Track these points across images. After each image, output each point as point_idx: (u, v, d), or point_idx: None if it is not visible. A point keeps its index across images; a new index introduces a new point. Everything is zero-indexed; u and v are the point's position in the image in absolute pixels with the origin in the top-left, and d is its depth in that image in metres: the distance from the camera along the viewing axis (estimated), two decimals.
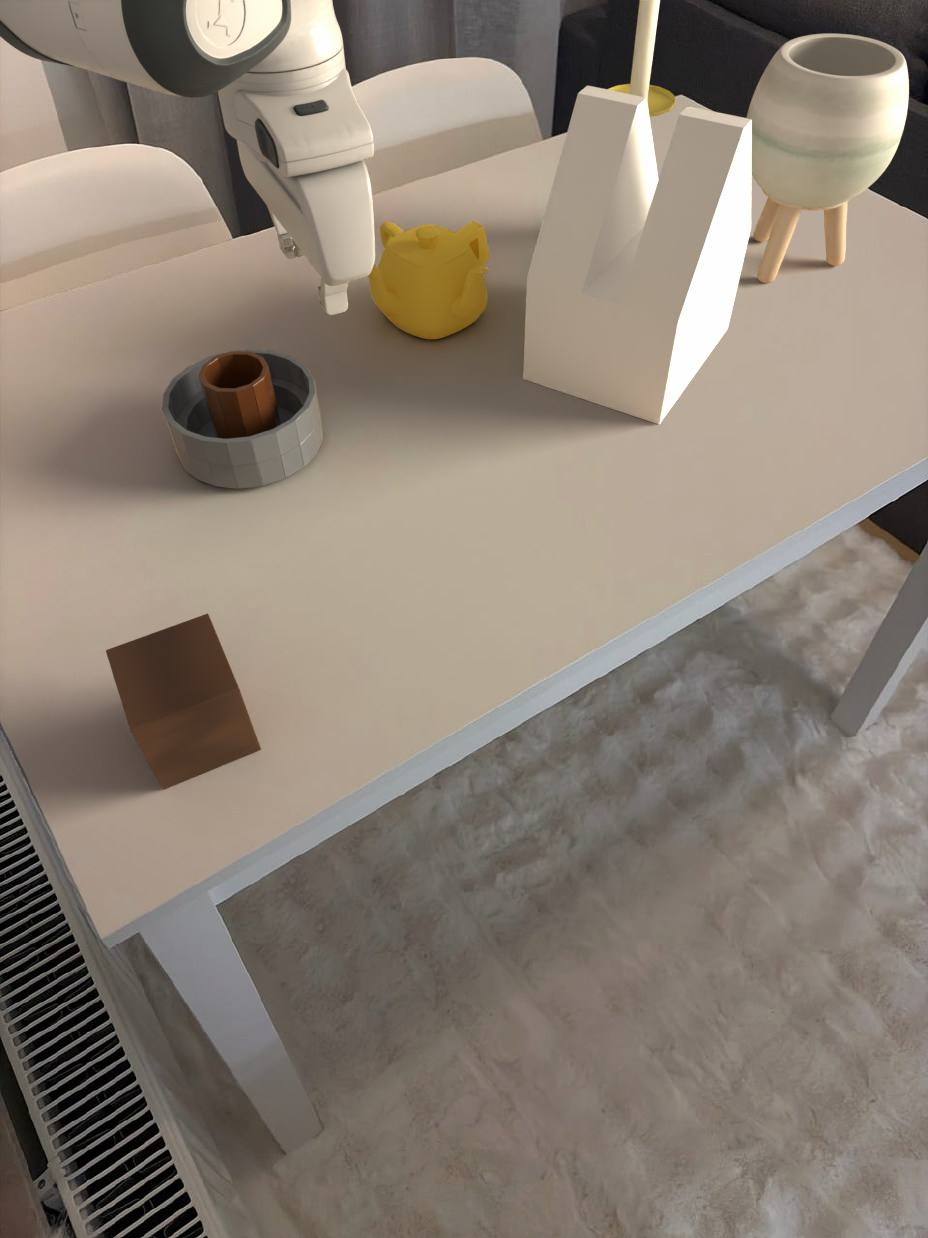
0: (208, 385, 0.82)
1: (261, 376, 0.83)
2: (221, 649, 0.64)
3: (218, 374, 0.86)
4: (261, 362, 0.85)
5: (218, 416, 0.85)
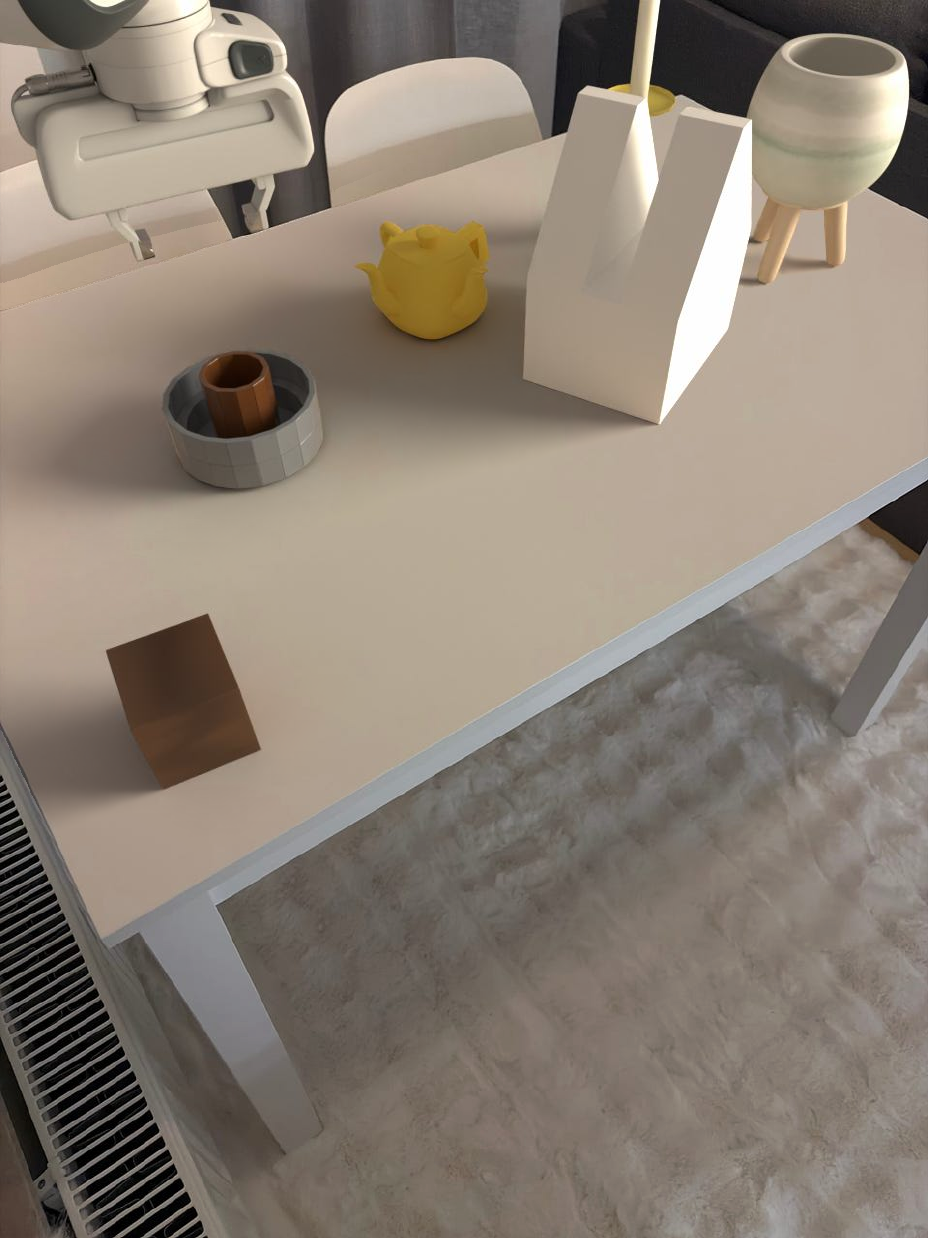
0: (208, 385, 0.82)
1: (261, 376, 0.83)
2: (221, 649, 0.64)
3: (218, 374, 0.86)
4: (261, 362, 0.85)
5: (218, 416, 0.85)
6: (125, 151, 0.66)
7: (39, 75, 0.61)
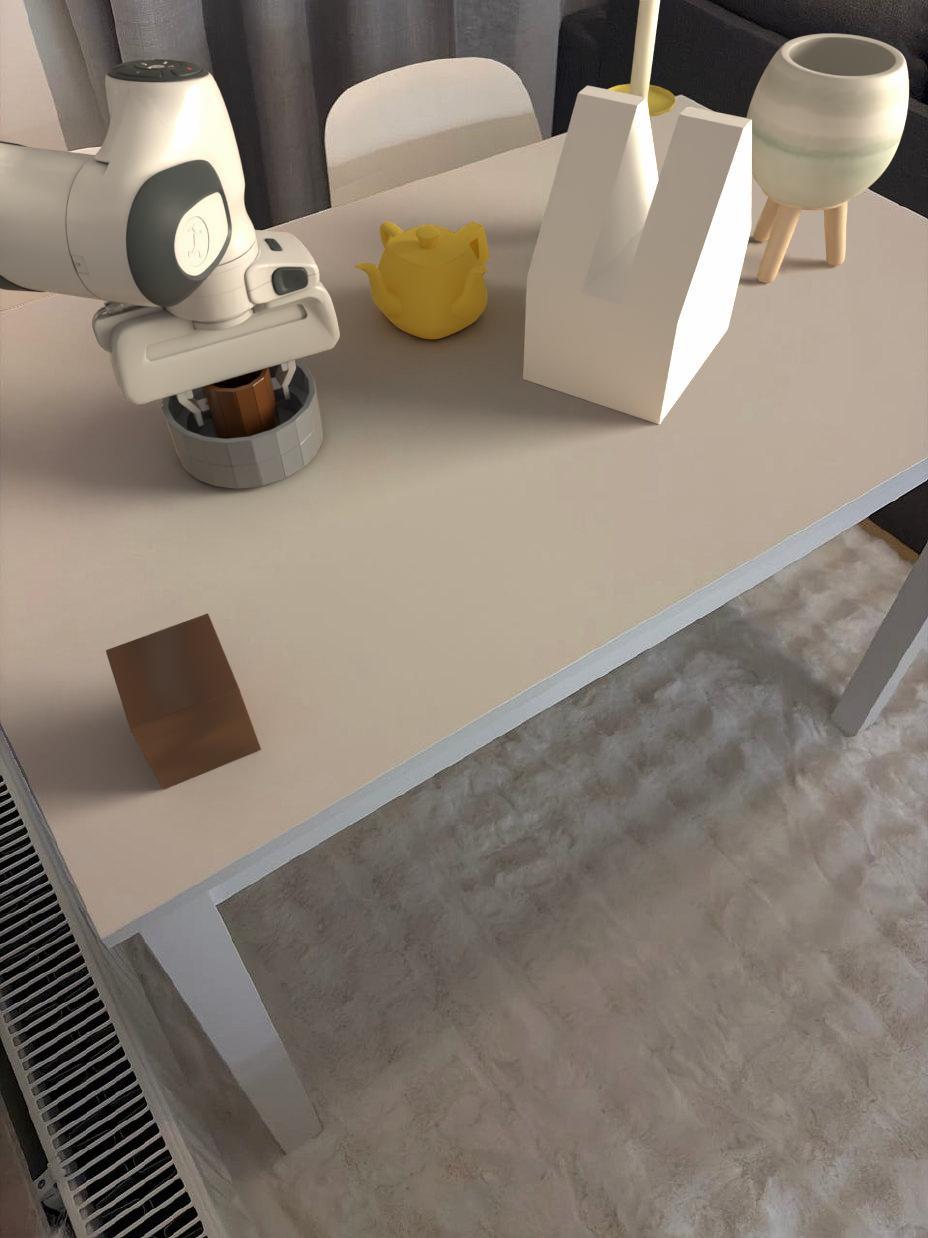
0: (208, 385, 0.82)
1: (261, 376, 0.83)
2: (221, 649, 0.64)
3: None
4: None
5: (218, 416, 0.85)
6: (183, 351, 0.78)
7: None
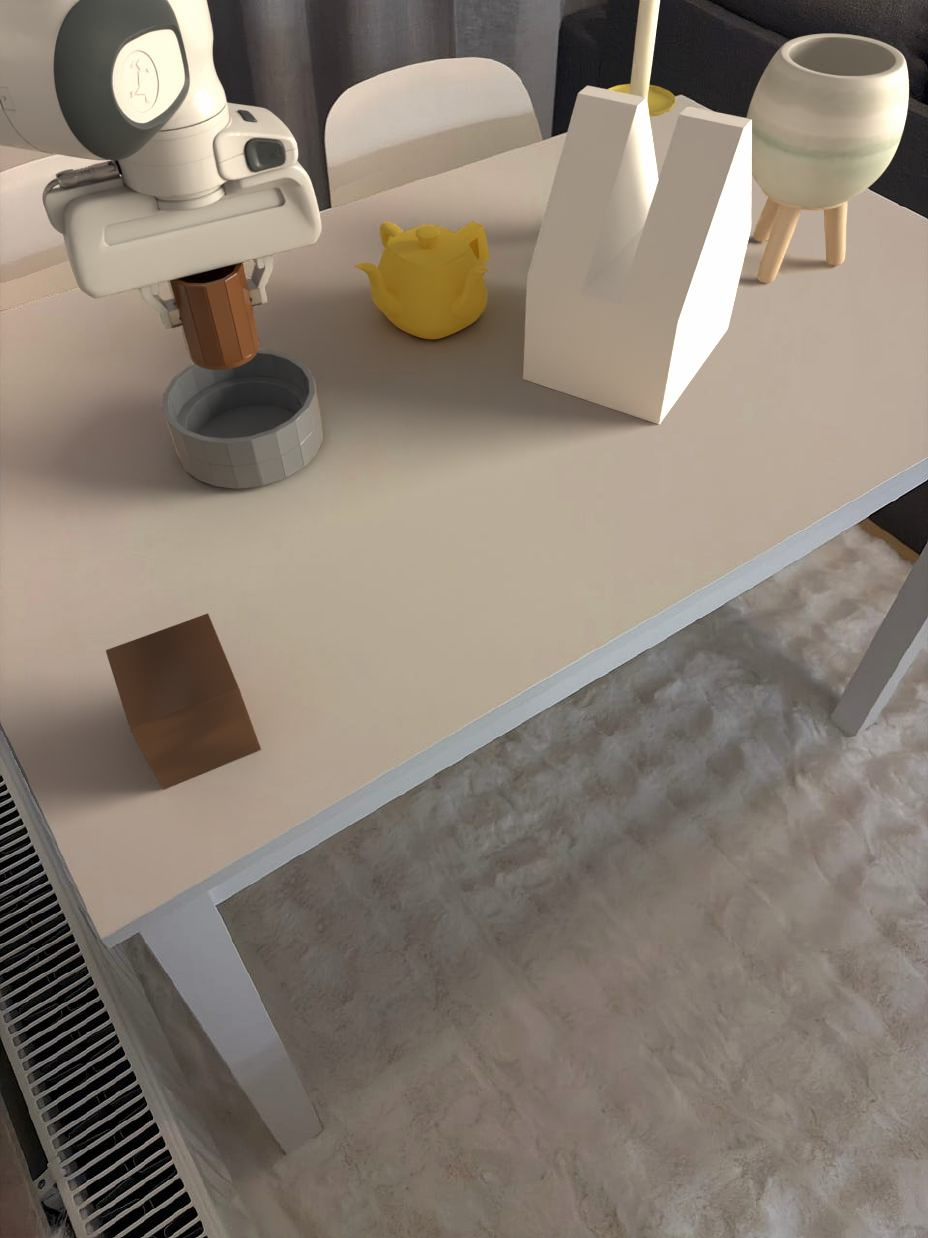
0: (175, 280, 0.74)
1: (234, 271, 0.75)
2: (221, 649, 0.64)
3: None
4: None
5: (187, 317, 0.77)
6: (147, 236, 0.71)
7: (69, 170, 0.66)
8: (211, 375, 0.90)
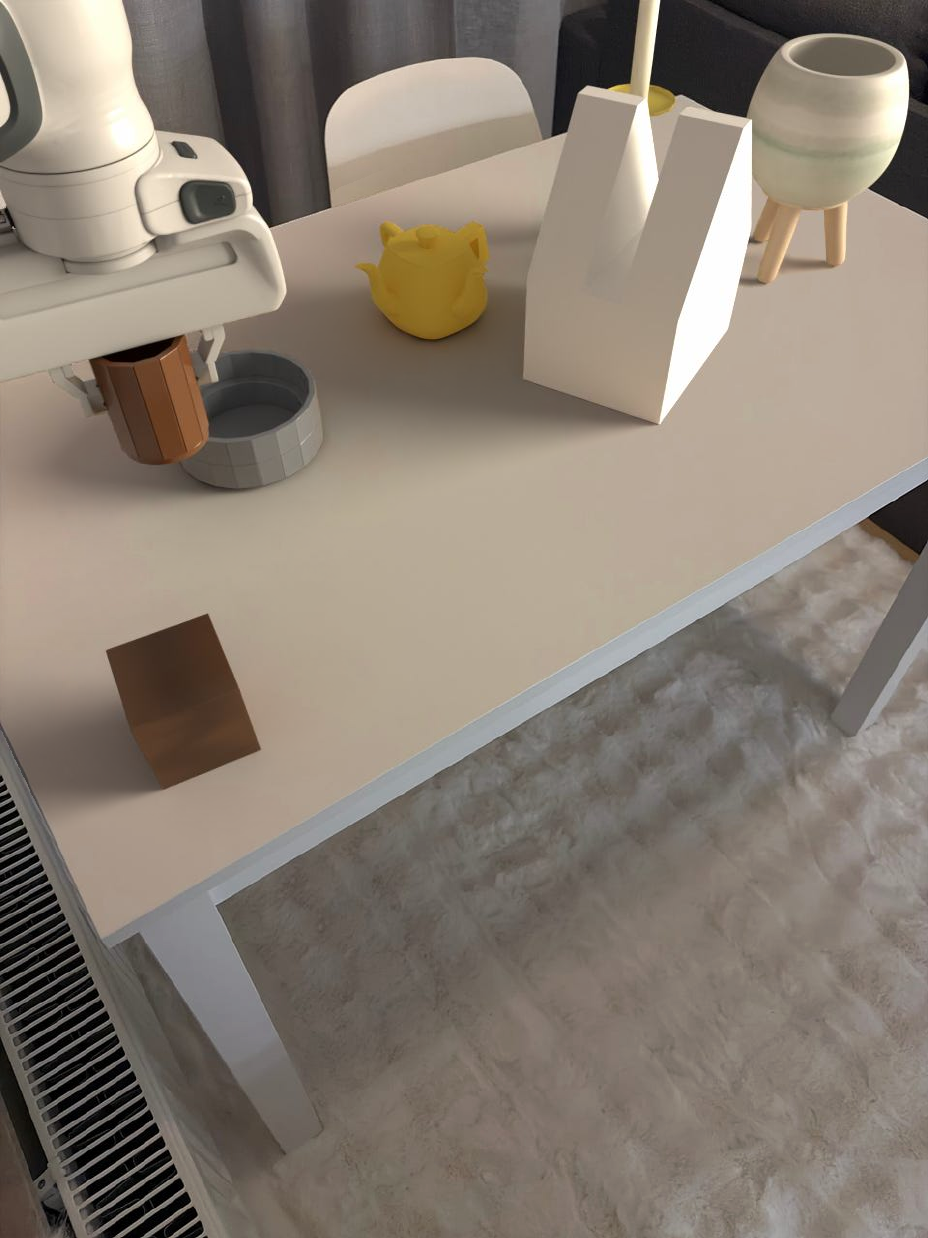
0: (95, 358, 0.57)
1: (173, 346, 0.58)
2: (221, 649, 0.64)
3: None
4: None
5: (113, 403, 0.60)
6: (53, 307, 0.54)
7: None
8: None
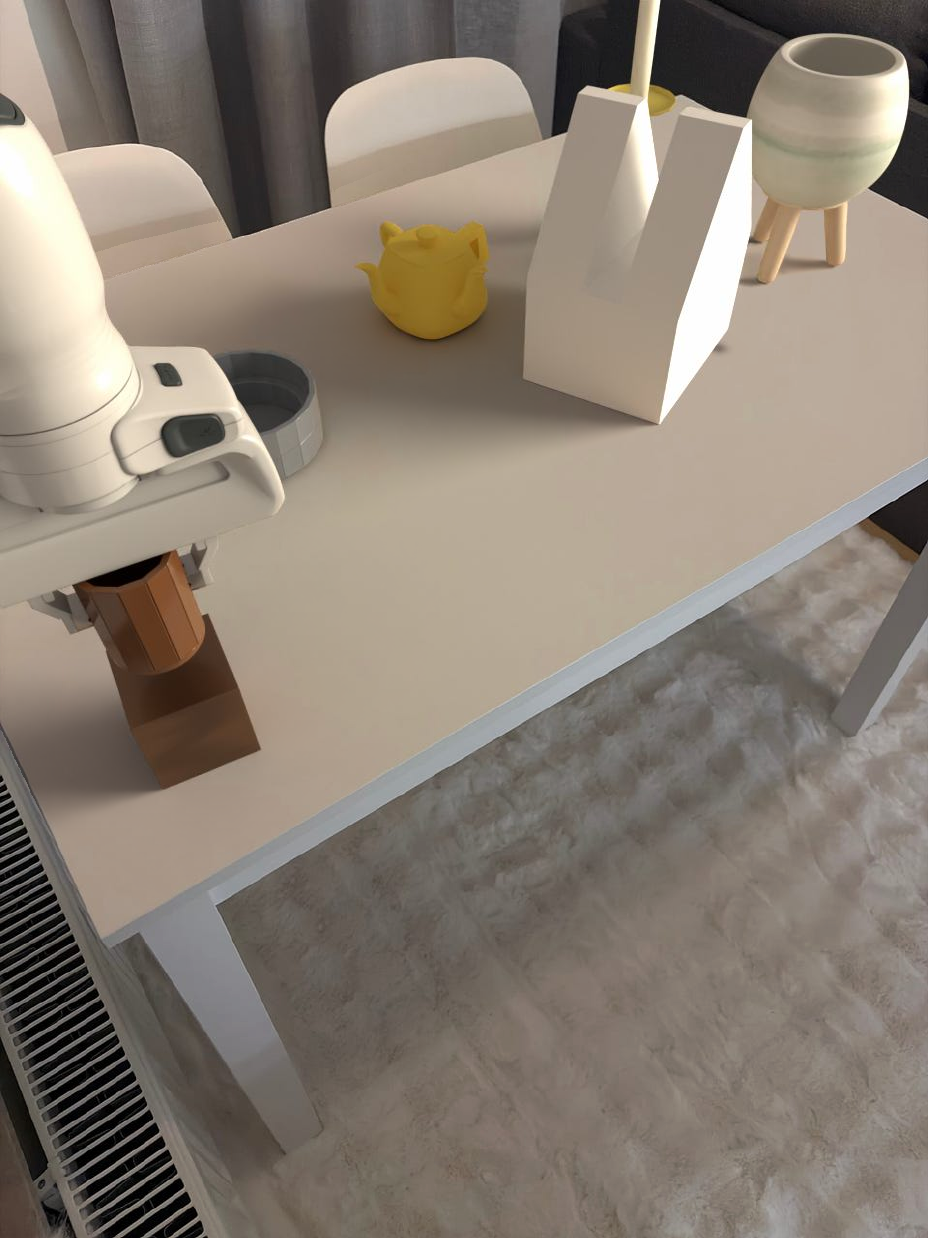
0: None
1: (161, 564, 0.53)
2: (221, 649, 0.64)
3: None
4: None
5: (98, 621, 0.55)
6: (27, 544, 0.49)
7: None
8: None
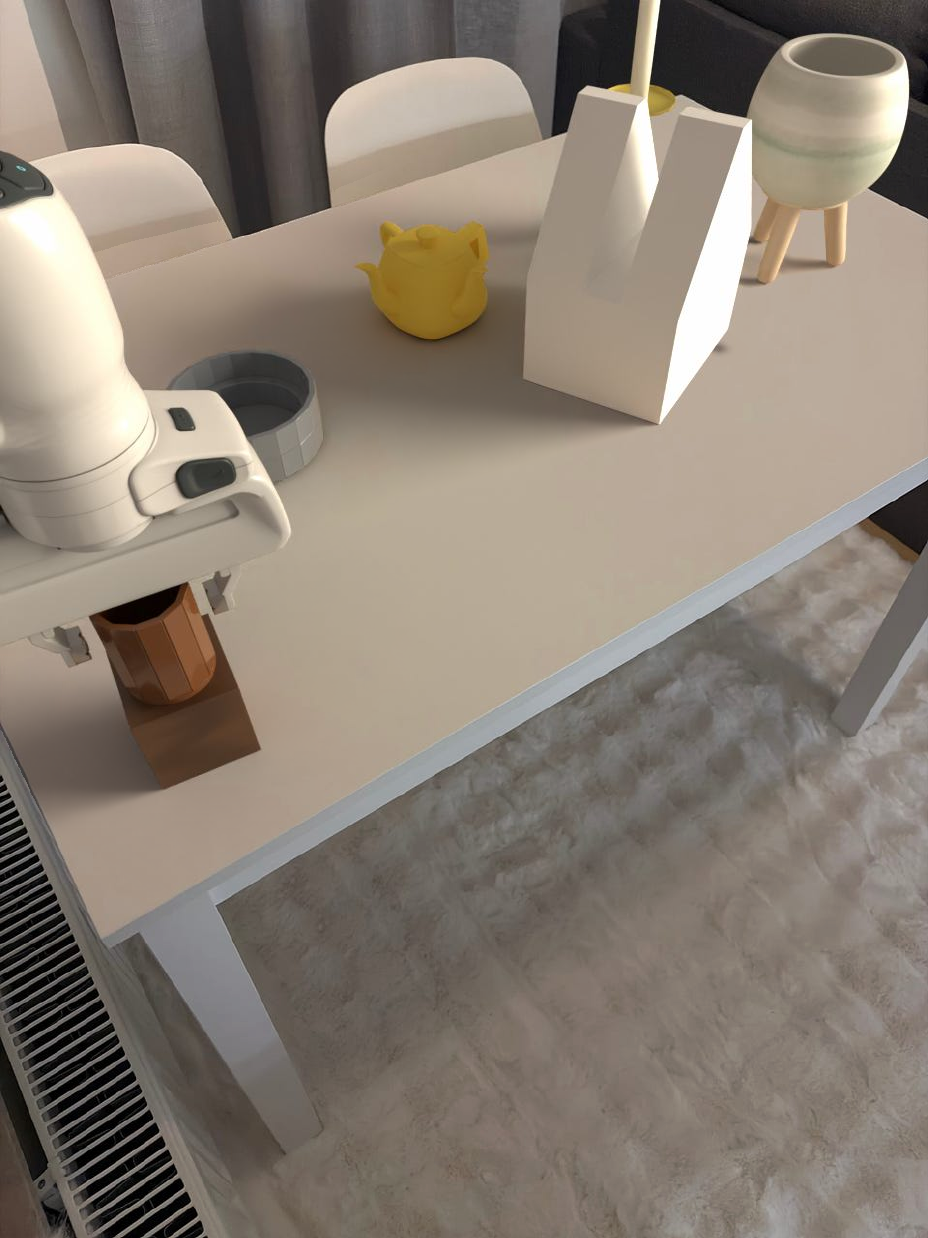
0: (96, 619, 0.55)
1: (177, 602, 0.56)
2: (221, 649, 0.64)
3: None
4: None
5: (115, 656, 0.57)
6: (45, 579, 0.51)
7: None
8: (211, 375, 0.90)
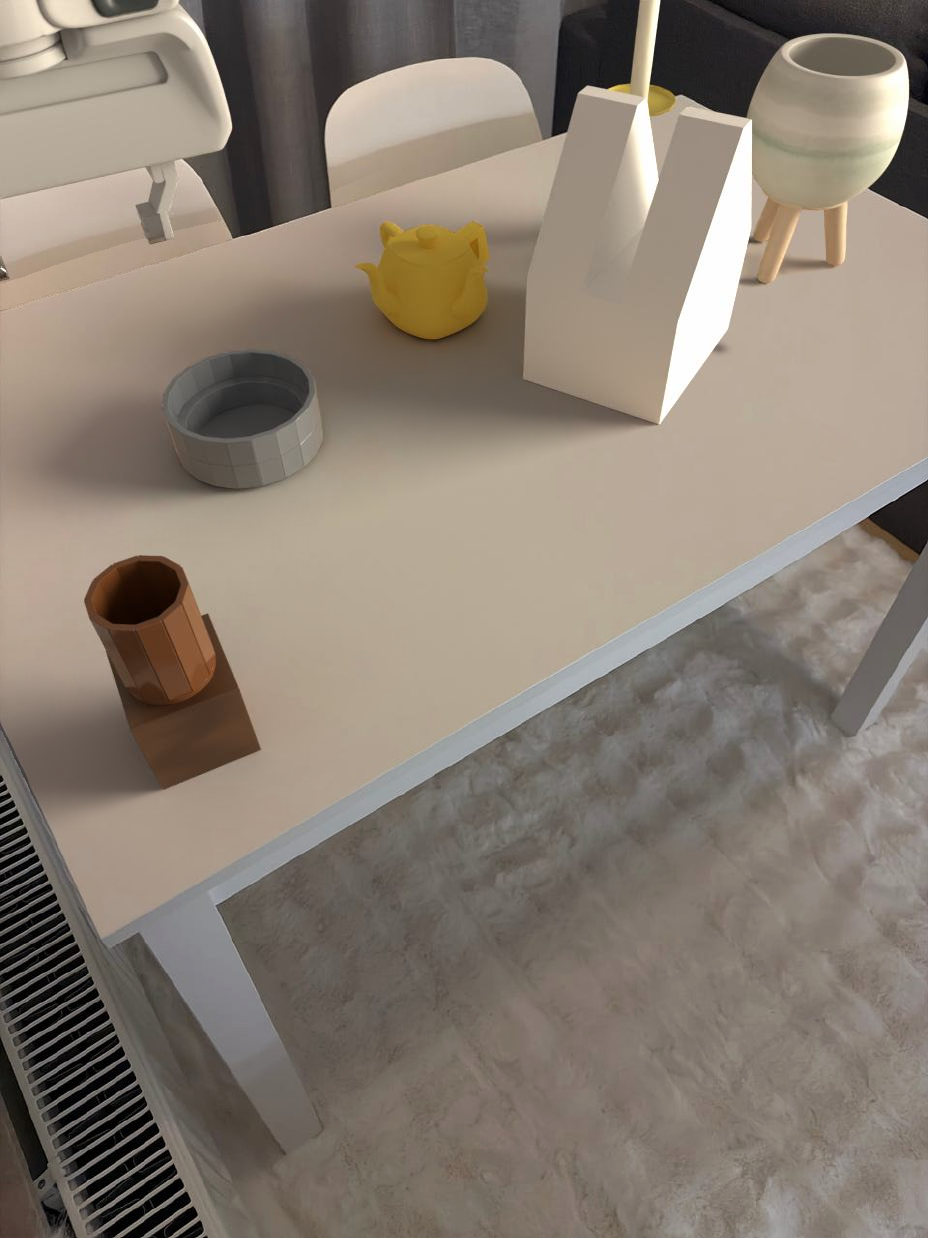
0: (96, 619, 0.55)
1: (177, 602, 0.56)
2: (221, 649, 0.64)
3: (118, 588, 0.59)
4: (178, 576, 0.57)
5: (115, 656, 0.57)
6: None
7: None
8: (211, 375, 0.90)
